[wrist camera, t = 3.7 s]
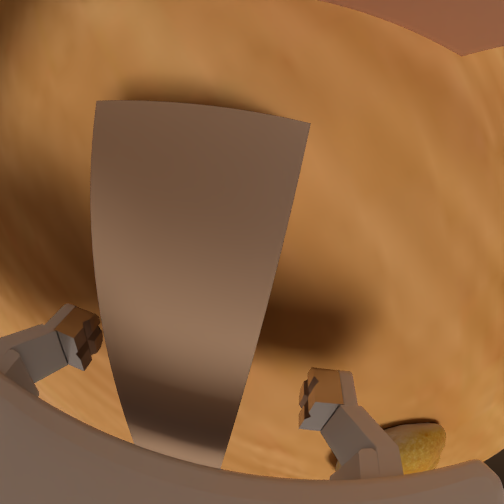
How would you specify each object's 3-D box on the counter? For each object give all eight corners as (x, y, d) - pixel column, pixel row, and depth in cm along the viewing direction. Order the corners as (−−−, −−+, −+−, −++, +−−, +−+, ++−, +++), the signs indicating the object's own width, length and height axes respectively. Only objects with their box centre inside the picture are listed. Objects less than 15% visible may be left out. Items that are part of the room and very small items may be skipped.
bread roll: (445, 402, 13) (462, 451, 9) (432, 450, 16) (440, 486, 13) (324, 438, 15) (325, 491, 11) (343, 476, 18) (344, 513, 15)
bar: (188, 108, 8) (96, 100, 4) (296, 125, 8) (310, 123, 4) (171, 408, 15) (147, 475, 11) (227, 422, 15) (212, 493, 11)
